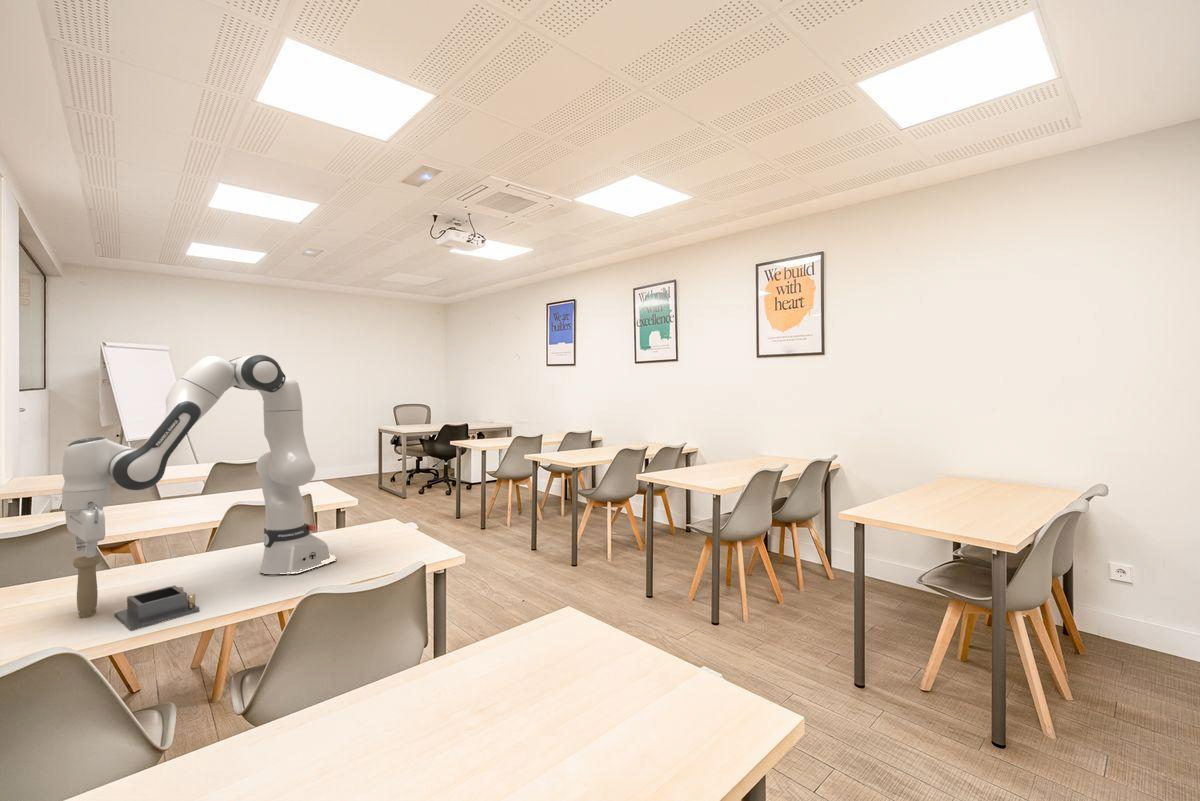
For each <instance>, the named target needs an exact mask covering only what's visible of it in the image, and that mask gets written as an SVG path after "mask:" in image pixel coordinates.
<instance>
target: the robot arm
mask: <svg viewBox="0 0 1200 801" xmlns="http://www.w3.org/2000/svg"><path fill="white" fill-rule="evenodd" d="M232 387H233V388H236V389H240V390H248V391H258V392H259V393H260V395H261V397H262V401H263V407H262V409H263V431H264V432H263V433H264V437H265V439H266V440H267V443H268V447H269V450H270V451H268V452H266V453H263V454H262V455H261V456H260V457H259V458H258V459H257V461H256V464H255V465H256V466H255V469H256V472H257V474H258V477H259V480H260V485H261V490H262V495H263V499H264V508H265V510H264V511H265V512H264V513H265V527H264V528H263V546H264V550H263V551H264V552H263V558H262V562H261V566H260V569H259V571H260V572H261V573H264V574H280V573H287V572H290V573H291V572H299V571H303V570H305V569H308V568H311V567H314V566H317V565H319V564H322V563H321V561H323V560H326V559H329V558H330V555H329V553H330V551H329V546H328V544H327V542H325V541H324V540H322V539H320V538H318V537H317V536H315V535H313V534H311V532H315V531H316V529H317V526H316V525H314V524H308V523H305V500H304V498H303V496H302V494H301V489H300V486H305V485H307V484H309V482H311V481H312V480H313V478H314V476H315V474H316V466H315V463H314V461H313V460H312V459H311V457H310V453H309V449H308V445H307V442H306V438H305V432H304V416H303V414H304V413H303V411H304V410H303V400H302V393H301V390H300V389H301V388H300V386H299V383H298V382H297V380H296V379H294V378H292V377H290V376H286V375H285V373H284V371H282V368H281V366H280V364H279V362H277V361H276V360H275V359H274V358H272V357H270V356H267V355H264V354H249V355H244V356H240V357H236V358H233V359H231V360H228V359H226V358H224V357H222V356H218V355H207V356H204V357H202V358H200V359H199V361H197V362H196V363H194V364H193V365H192V366H191V367H189V368H188V369H187V370H186V372H184V374H182V375H181V377H179V378H178V379H177V381H176V382H175V383H174V384H173V386H172V387H171V388H170V390H169V392H167V395H166V397H165V406H166V408H165V410H166V411H165V415H164V417H163V419H162V420H161V423H160V424H159V425H158V426H157V427H156V429H155V430H154V431H153V432H152V433H151V435H150V436H149V437H148V438H147V440H146V441H145V442H144V443H143V444H142V445H141V446H140V447H137V448H136V447H130V446H126V445H123V444H121V443H117V442H115V441H112V440H110V439H108V438H106V437H102V436H101V437H87V438H82V439H78V440H74V441H72V442H71V443H69V444H67V445H66V447H65V450H64V453H63V458H62V472H61V473H62V476H63V480H64V483H63V487H62V489H61V492H62V493H61V509H62V510H63V511H64V513H65V514H64V516H65V522H66V523H65V524H66V528H67V530H68V531H69V532H70V533H72V534H73V538H74V543H75V550H76V551H78V552H79V551H84V556H86V557H87V558H89V557H94V556H95V555H96V553H97V546H98V545H99V542H101V541H104V540H105V538H106V517H105V513H104V507H107V506H110V504H111V503H110V496H111V495H110V494H111V493H110V490H111V487H110V486H111V484H115V483H116V484H117V485H118V486H120V487H121V488H123V489H126V490H130V491H141V490H147V489H149V488H152V487H153V486H155V485H156V484H158V483H159V481H161V480H162V478H163V477H164V475H165V472H166V468H167V464H168V461H169V458H170V456H171V455H172V453H173V452H174V451H175V450H176V448H177V447H178V446H179V444H180V443H181V442H182V441H183V439H184V438H185V437H186V435H187V434H188V433H189V432H190V430H191V429H192V428H193V426H195V424H197V423H198V422H199V420H201V418H203V416H205V415H206V414H207V413H208V411H210V410H211V409H212V408H213V407H214V406H215V405H216V404H217V402H218V401H219V400H220V399H221V397H222V396H223V395H224V393H225V392H227V391H228V390H229V389H230V388H232ZM310 531H311V532H310ZM96 556H97V555H96ZM300 569H302V570H300ZM260 572H259V573H260ZM261 573H260V574H261ZM264 574H263V575H264Z"/></svg>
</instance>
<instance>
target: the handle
mask: <svg viewBox="0 0 1200 801" xmlns="http://www.w3.org/2000/svg"><path fill="white" fill-rule="evenodd" d="M100 563H101V556H100V555H95V556H94V557H89V558H87V557H86V556H85V555H83V556H80V557H75V559H73V562H72V565H73V567H74V568H76V569H77V573H78V575H77V585H76V605H77V611H78V613H77V615H78V618H81V619H82V618H83V619H85V618H89V617H93V616H94V615H96V613H97V606H98V597H99V596H98V594H99V593H98V583H97V582H98V580H97V567H96V566H97V565H99V564H100Z"/></svg>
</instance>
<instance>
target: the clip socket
mask: <svg viewBox="0 0 1200 801" xmlns="http://www.w3.org/2000/svg"><path fill="white" fill-rule="evenodd" d="M199 612H200V606H197V604H196V594H189V595H188V593H187V592H186V591H184V586H179V587H178V586H177V585H171V586H166V587H162V588H158V589H153V590H150V591H146V592H141V593H138V594H134V595H130V596H126V609H124V610H119V611H115V612H114V617H115V618H116V619H117V620H118V621H119V622H120V623H121V624H123V626H124V627H125V628H127V629H128V630H129V631H130V632H133V631H136V630H139V629H142V627H143V628H147V627H149V626H153V625H157V624H160V623H159V622H161V623H163V622H162V621H164V622H166V621H165V620H168V619H171V620H173V619H172V618H175V619H177V617H178V618H181V617H184V616H189V615H190V614H191V615H192V614H195V613H199ZM168 621H169V620H168ZM156 623H157V624H156ZM138 628H139V629H138ZM135 629H136V630H135Z"/></svg>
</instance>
